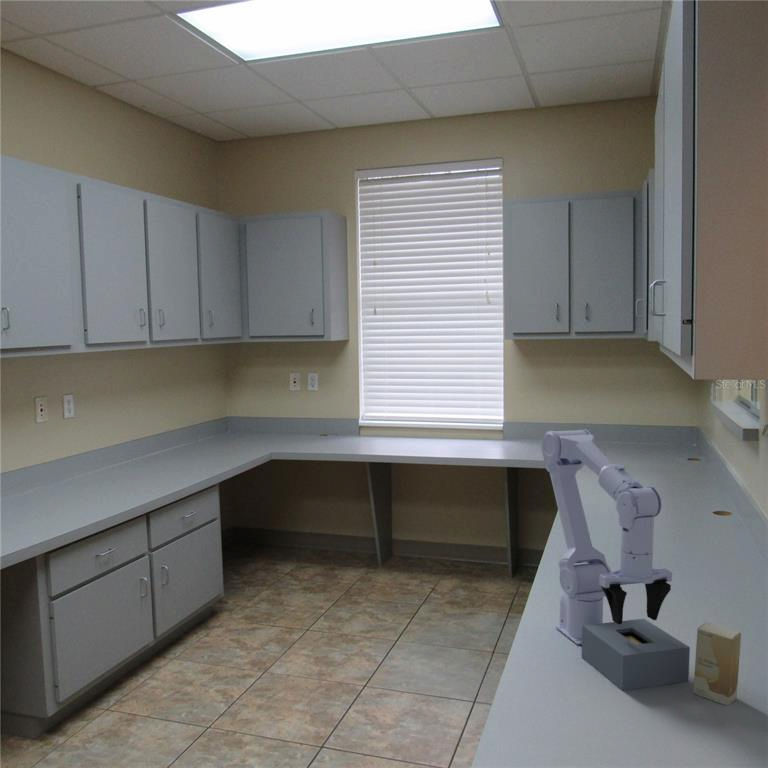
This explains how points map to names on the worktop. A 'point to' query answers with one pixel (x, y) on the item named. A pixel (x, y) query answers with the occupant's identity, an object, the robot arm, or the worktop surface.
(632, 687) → the slot box
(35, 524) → the worktop surface
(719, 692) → the skincare box
